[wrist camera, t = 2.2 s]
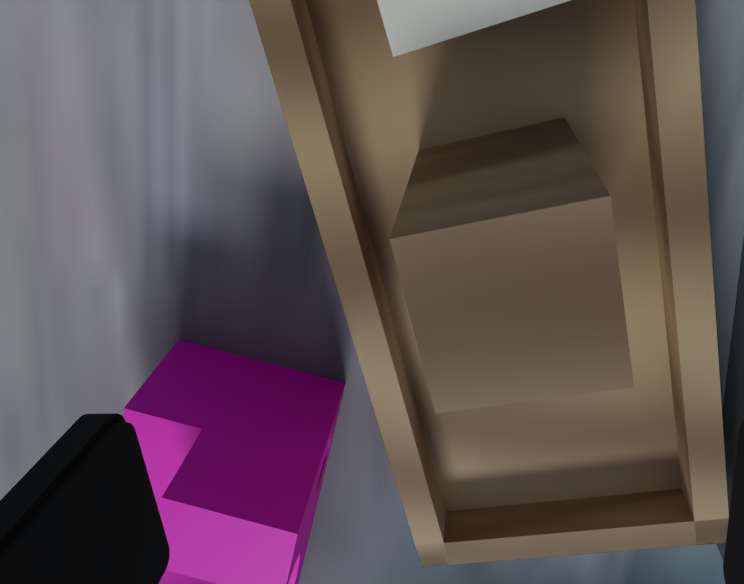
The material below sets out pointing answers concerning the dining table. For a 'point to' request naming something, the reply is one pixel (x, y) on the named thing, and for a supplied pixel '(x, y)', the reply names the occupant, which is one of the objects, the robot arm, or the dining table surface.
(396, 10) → the grey box
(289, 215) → the dining table surface
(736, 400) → the block
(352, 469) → the dining table surface
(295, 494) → the toy block
